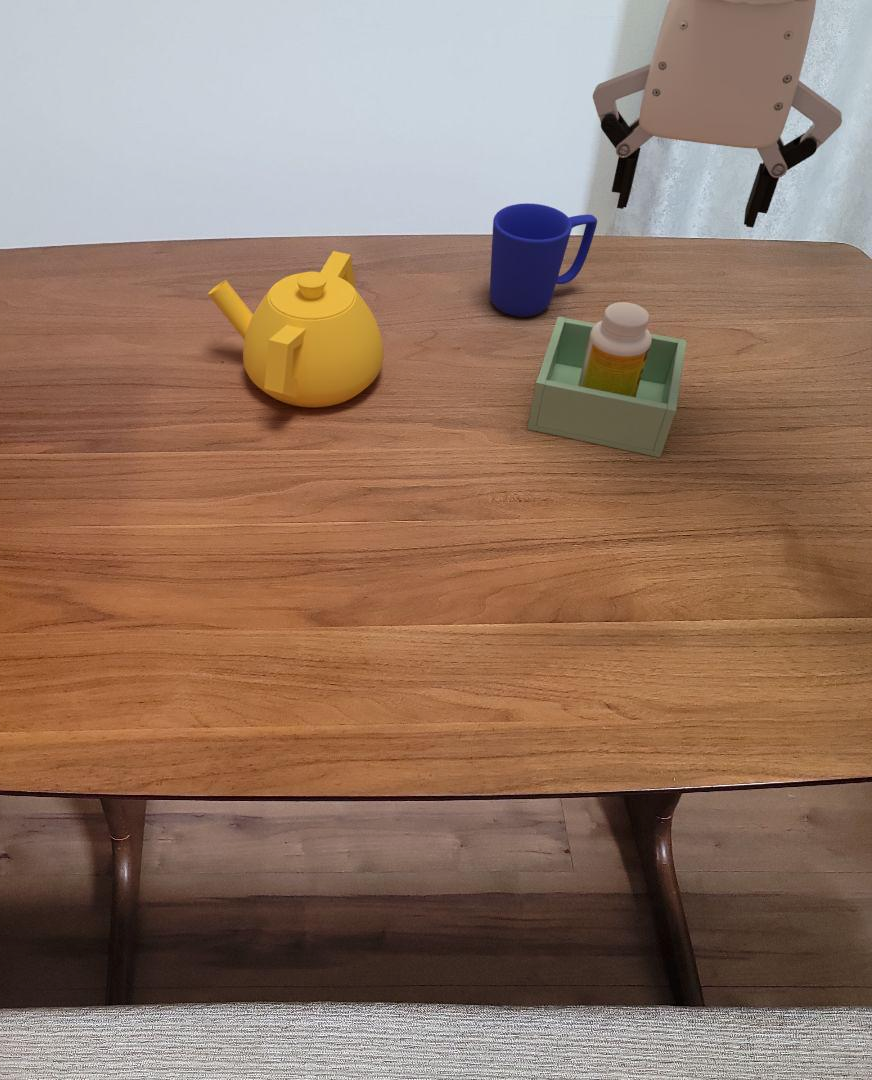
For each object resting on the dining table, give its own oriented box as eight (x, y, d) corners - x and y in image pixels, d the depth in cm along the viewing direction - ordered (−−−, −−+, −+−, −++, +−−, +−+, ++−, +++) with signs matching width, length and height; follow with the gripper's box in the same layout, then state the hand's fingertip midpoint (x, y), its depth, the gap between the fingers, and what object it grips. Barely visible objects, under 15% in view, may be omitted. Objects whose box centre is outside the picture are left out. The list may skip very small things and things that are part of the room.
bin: (671, 386, 94) (687, 339, 90) (660, 457, 87) (676, 410, 83) (548, 362, 97) (557, 316, 93) (526, 429, 90) (536, 382, 86)
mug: (599, 308, 104) (619, 225, 97) (504, 330, 101) (518, 247, 94) (560, 272, 109) (576, 191, 102) (469, 293, 106) (479, 210, 99)
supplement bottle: (637, 421, 89) (665, 331, 82) (580, 420, 90) (602, 330, 82) (626, 385, 93) (651, 296, 86) (570, 385, 93) (590, 296, 86)
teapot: (251, 303, 105) (244, 211, 97) (406, 333, 101) (412, 240, 93) (173, 407, 92) (158, 311, 84) (347, 447, 88) (349, 349, 80)
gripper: (892, -42, 61) (801, 205, 74) (626, -62, 65) (582, 175, 78) (899, -9, 56) (801, 250, 69) (611, -33, 61) (567, 215, 73)
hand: (685, 210), depth 73 cm, fingers open, 9 cm apart
